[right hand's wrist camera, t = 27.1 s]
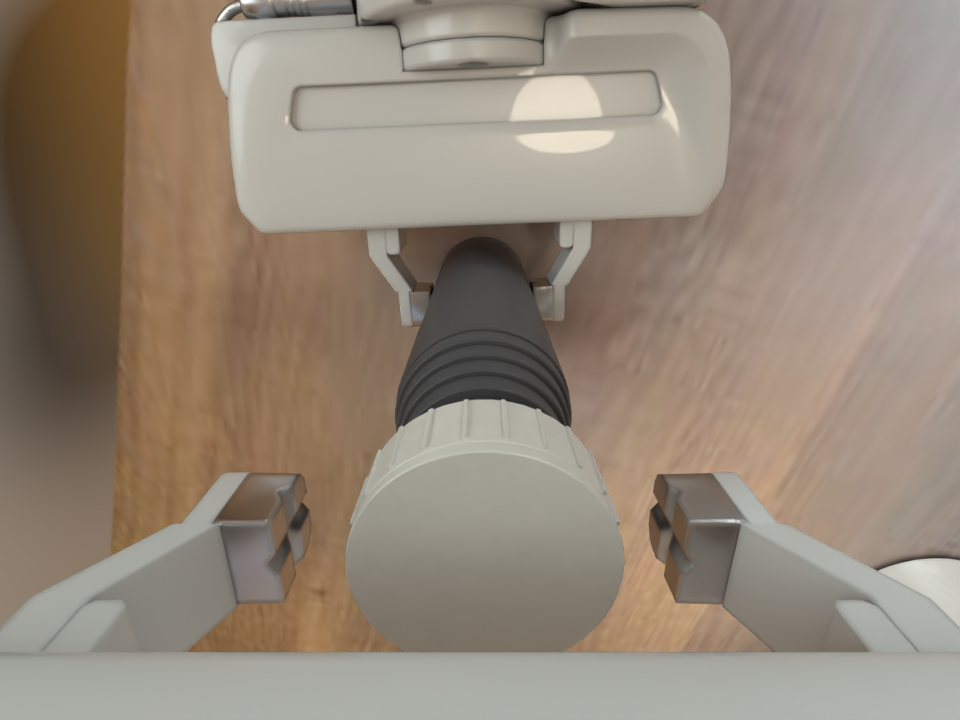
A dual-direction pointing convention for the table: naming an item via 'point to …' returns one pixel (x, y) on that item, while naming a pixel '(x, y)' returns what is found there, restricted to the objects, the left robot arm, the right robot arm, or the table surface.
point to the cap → (484, 534)
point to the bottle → (482, 339)
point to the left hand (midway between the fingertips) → (483, 320)
